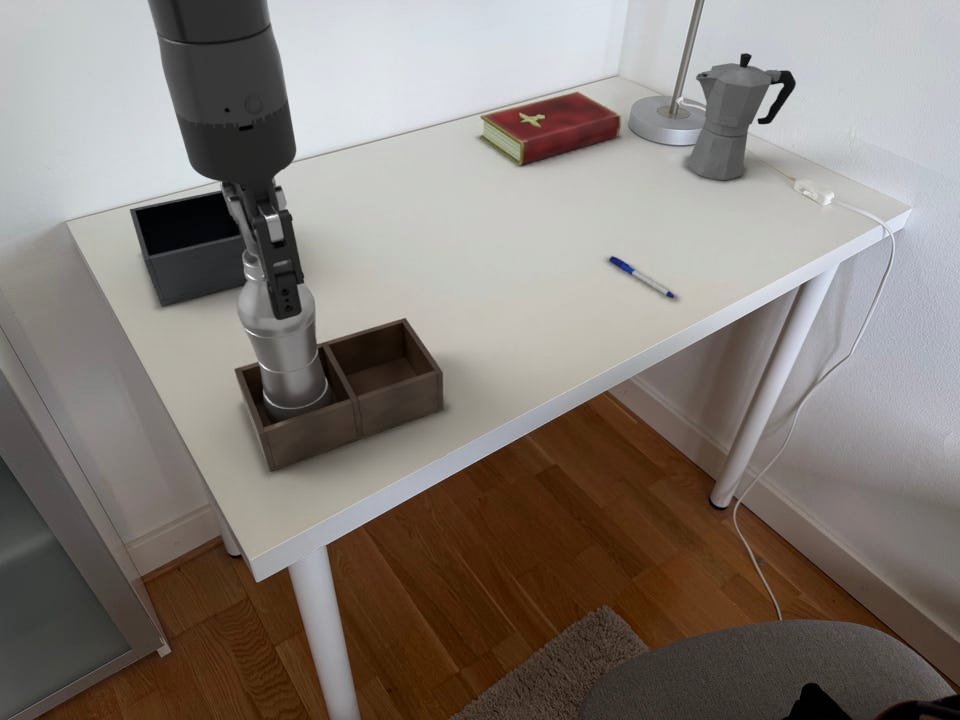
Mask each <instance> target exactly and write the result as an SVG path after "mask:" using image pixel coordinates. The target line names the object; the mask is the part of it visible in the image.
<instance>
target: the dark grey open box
mask: <svg viewBox="0 0 960 720" xmlns="http://www.w3.org/2000/svg"><path fill="white" fill-rule="evenodd" d="M129 213H130V217H131V221H132V223H133V226H134V231H135V235H136V237H137V241H138V244H139V248H140V251H141V255H142V258H143V262H144V264H145V267H146V269H147V271H148V274H149V277H150V280H151V283H152V286H153V288H154V292H155V294H156V296H157V299H158V302H159V304H160V307H165V306H169V305H173V304H177V303H181V302H184V301H189V300H193V299H197V298H200V297H204V296H208V295H212V294H215V293H216V294H217V293H220V292H223V291H224V292H225V291H227V290H232V289H235V288H240V287H244V285H245V283H246V282H247V281H248V280H247V279H246V277H245V274H244V264H243V259H242V255H243V252H244V251H245V250H244V246H243V242H242V238H241V234H240V230H239V226H238V225H239V224H237V223H236V221H235V220H233V216H232V215H230V213H229V210H228V207H227V204H226V201H225V198H224V195H223V193H222V190H221V189H220V190H216V191H211V192H206V193H201V194H197V195H192V196H187V197H182V198H176V199H173V200H172V199H171V200H168V201H167V200H166V201H163V202H158V203H154V204H147V205H143V206H139V207H134V208H129Z"/></svg>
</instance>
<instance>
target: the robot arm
mask: <svg viewBox="0 0 960 720" xmlns="http://www.w3.org/2000/svg"><path fill="white" fill-rule="evenodd" d="M146 1H147V4H148V8H149V11H150V14H151V15H150V16H151V18H152V21H153V25H154V28H155V31H156V36H157V40H158V41H157V42H158V46H159V53H160V60H161V61H160V62H161V66H162V70H163V75H164V78H165V82H166V85H167V88H168V92H169V95H170V99H171V102H172V106H173V108H174V109H173V110H174V113H175V116H176V117H175V118H176V121H177V123H178V127H179V130H180V134H181V137H182V140H183V144H184V145H183V146H184V148H185V151H186V155H187V158H188V162H189V164H190V166H191V167H192V169H193V170H194V171H195V172H196V173H198V174H199V175H201V176H203V177H204V178H206V179H210V180H212V181H217V182H219V186H220V190H222V193H223V195H224V198H225V201H226V204H227V207H228V210H229V213H230V215H232V216H233V220H235V221H236V223H237V224H239V225H238V226H239V230H240V234H241V238H242V242H243V246H244V250H246V249H247V251H248V253H249V254H250V255H252V256H255V257H256V258H257V259H258V262H259V266H260V269H261V272H262V275H261V277H262V280H263V281H265V283H266V287H267V291H268V296H269V300H270V304H271V308H272V312H273V315H274V317H275V318H276V319H277V320H283V319H287V318H290V317H294V316H297V315H299V314H300V313H301V312H302V307H301V302H300V297H299V292H298V287H297V285H299V284H303V283H305V280H304V279H305V274H304V271H303V269H302V265H301V259H300V254H299V250H298V246H297V245H298V244H297V241H296V240H297V239H296V235H295V230H294V225H293V221H294V219H293V215H292V213H290V211H289V209H288V208H286V207H287V199H286V196H285V193H284V190H283V187H282V185H281V184H278V185H277V183H276V179H275V177H276V176H277V174H279V173H280V172H281V171H283V170H285V169H286V168H288V167H289V166H290V165H291V164H292V163H293V161H294V160H295V158H296V156H297V143H296V139H295V138H296V137H295V131H294V128H293V127H294V126H293V119H292V115H291V109H290V108H291V107H290V103H289V97H288V92H287V91H288V90H287V84H286V79H285V75H284V74H285V73H284V67H283V63H282V58H281V53H280V50H279V46H278V44H277V40H276V36H275V34H274V30H273V25H272V22H271V15H270V10H269V5H268V0H146ZM282 261H286V264H283V265H279V266H275V267H273V265H274V264H275V263H278V262H282Z"/></svg>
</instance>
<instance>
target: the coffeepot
mask: <svg viewBox="0 0 960 720" xmlns="http://www.w3.org/2000/svg"><path fill="white" fill-rule="evenodd" d="M752 56H753V55H752V54H750V53H747V52H746V53H745V52H744V53H740V60H739V63H733V62H728V63H723V64H717V65H712V66H711V69H710V70H707V71H706V70H705V71H701V72H700V73H698V74H697V75H695V80H696V81H698V82H699V84H700V86H701V89H702V92H703V96H704V99H705V102H706V104H705V113H704V117H705V119H704V123H703V125H702V127H701V130H700V132H699V134H698V136H697V139H696V142H695V144H694V146H693V149H691V153H690V155H689V158H688V161H687V164H686V166H687V167H688V169H689V170H690V171H691V172H693V174H695V175H697V176H700V177H702V178H704V179H709V180H714V181H731V180H735V179H737V178H738V177H741V176H742V174H743V167H744V160H745V154H746V147H747V141H748V134H749V128H750V125H753V122H754V120H755V117H756V116H757V114H758V111H759V109H760V107H761V106H762V103H763V101H764V98H765V96H766V95H767V92H768V90H769V88H770V87H771V86H772V85H774V86H775V85H779V84H783V86H782V88H781V89H780V91H779V92H778V94H777V96H776V99H775V100H774V102H773V103H772V104H771V106H770V107H769V110H768V112H767V114H766V116H765V117H758V118H757V124H758V125H770V124H771V123H772V122H773V121H774V119H775V118H776V116H777V115H778V113H779V111H780V110H781V109H782V107H783V106H784V104H785V103H786V102H787V100H788V98H789V97H790V95H791V94H792V93H793V92H794V90H795V88H796V84H797V81H796V79H795V77H794V76H793V74H792V72H791V71H790V70H787V69H785V70H784V69H783V70H778V69H767V70H763V69H761V68H759V67H758V66H754V65H749V63H750V60H751V59H752Z"/></svg>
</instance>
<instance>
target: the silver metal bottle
mask: <svg viewBox="0 0 960 720" xmlns="http://www.w3.org/2000/svg"><path fill="white" fill-rule="evenodd" d="M242 259H243V264H244V274H245V277H246V279H247V280H248V281H247V282H246V283H245V285H243V286H242V289H241V290H240V292H239V294H238V297H237V300H236V301H237V303H236V314H237V316H238V319H239V322H240V323H241V325H242V328H243V330H244V332H245V333H246V335H247V338H248V340H249V342H250V344H251V346H252V349H253V352H254V354H255V358H256V359H257V362H258V363H259V366H260V370H261V376H262V383H263V401H264V410H265V413H266V415H267V416H268V418H269V420H270V422H271V423H272V424H276V423H279V422H282V421H285V420H288V419H291V418H294V417H297V416H300V415H303V414H306V413H309V412H312V411H315V410H318V409H321V408H324V407H327V406H330V405H333V400H334V397H333V393H332V390H331V388H330V385H329V383H328V381H327V379H326V377H325V375H324V372H323V369H322V365H321V362H320V359H319V356H318V349H317V344H318V342H317V325H316V324H317V312H316V311H317V310H316V308H317V307H316V300H315V296H314V295H313V293H312V291H311V289H310V287H309V286H308V285H307V284H306V283H305V282H304V283H303V284H299V285H297V287H298V292H299V297H300V302H301V307H302V312H301V313H300V314H299V315H297V316H294V317H290V318H287V319H283V320H277V319H276V318H275V317H274V315H273V312H272V308H271V304H270V300H269V296H268V291H267V287H266V283H265V281H263V280H262V277H261V275H262V272H261V269H260V266H259V262H258V259H257V258H256V257H255V256H252V255H250V254H249V253H248V251H247V249H246V250H245V251H244V252H243V255H242ZM283 264H286V261H282V262H278V263H275V264H274V265H273V267H275V266H279V265H283Z"/></svg>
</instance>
